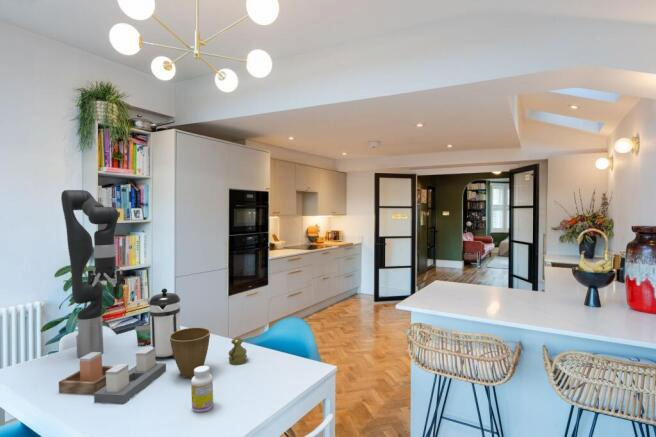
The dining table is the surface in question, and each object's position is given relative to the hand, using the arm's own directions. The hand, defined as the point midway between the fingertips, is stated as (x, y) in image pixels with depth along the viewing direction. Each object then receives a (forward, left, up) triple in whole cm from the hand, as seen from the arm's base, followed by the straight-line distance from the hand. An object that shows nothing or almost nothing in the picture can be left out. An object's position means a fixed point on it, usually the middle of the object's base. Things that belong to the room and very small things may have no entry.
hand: (106, 295), depth 151 cm
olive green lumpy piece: (+51, +11, -30) cm, 60 cm away
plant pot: (+37, -2, -30) cm, 48 cm away
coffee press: (+16, +15, -30) cm, 37 cm away
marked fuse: (+4, -14, -29) cm, 33 cm away
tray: (+4, -14, -30) cm, 33 cm away
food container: (0, +28, -30) cm, 41 cm away
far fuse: (+20, -5, -30) cm, 36 cm away
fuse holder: (+20, -13, -30) cm, 38 cm away
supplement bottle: (+53, -25, -30) cm, 66 cm away
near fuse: (+20, -21, -30) cm, 42 cm away
